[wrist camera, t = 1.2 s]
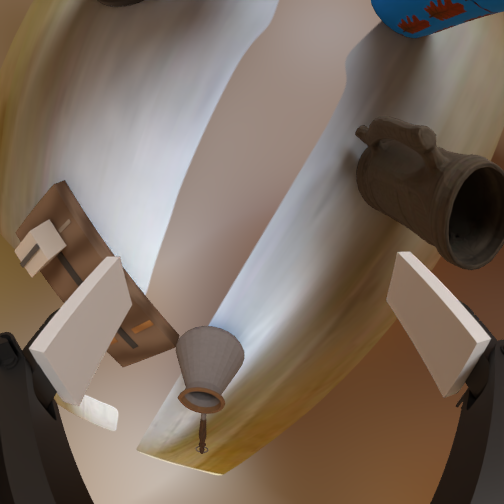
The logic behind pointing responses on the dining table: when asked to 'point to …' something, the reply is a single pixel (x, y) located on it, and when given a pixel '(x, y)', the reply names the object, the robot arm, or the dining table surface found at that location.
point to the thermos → (431, 14)
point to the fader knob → (39, 247)
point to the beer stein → (433, 190)
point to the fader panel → (84, 263)
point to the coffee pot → (207, 370)
